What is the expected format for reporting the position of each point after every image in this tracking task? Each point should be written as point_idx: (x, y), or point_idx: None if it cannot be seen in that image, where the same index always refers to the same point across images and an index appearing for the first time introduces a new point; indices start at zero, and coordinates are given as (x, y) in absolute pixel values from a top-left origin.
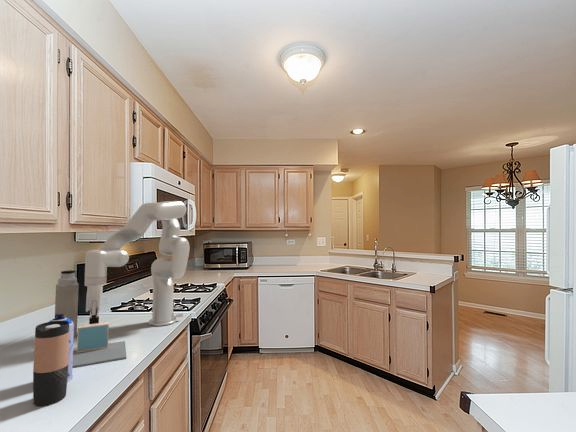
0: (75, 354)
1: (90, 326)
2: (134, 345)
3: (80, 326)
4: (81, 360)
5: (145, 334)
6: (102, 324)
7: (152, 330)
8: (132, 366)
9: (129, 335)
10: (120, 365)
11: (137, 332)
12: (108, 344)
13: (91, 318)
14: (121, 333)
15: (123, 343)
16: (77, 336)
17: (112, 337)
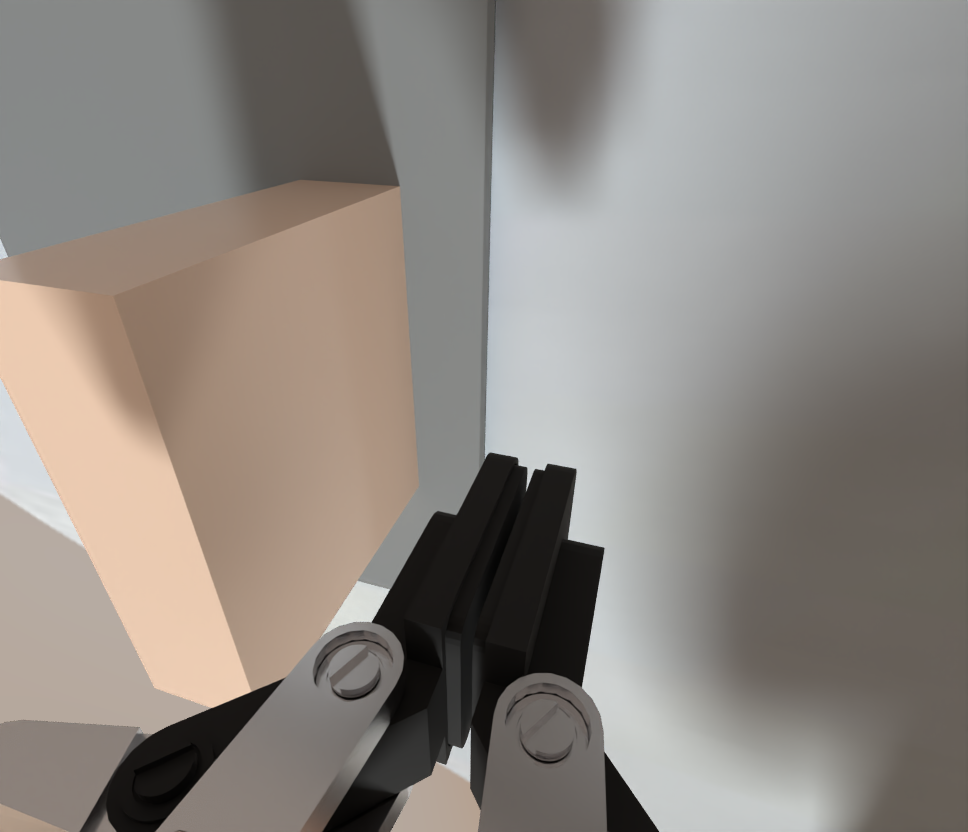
0: (244, 166)
1: (62, 489)
2: (371, 618)
3: (50, 336)
4: (77, 230)
5: (619, 757)
6: (144, 635)
7: (704, 823)
8: (21, 500)
9: (688, 687)
10: (33, 456)
11: (740, 754)
12: (443, 492)
13: (414, 644)
14: (842, 673)
15: None
16: (126, 228)
17: (746, 576)
